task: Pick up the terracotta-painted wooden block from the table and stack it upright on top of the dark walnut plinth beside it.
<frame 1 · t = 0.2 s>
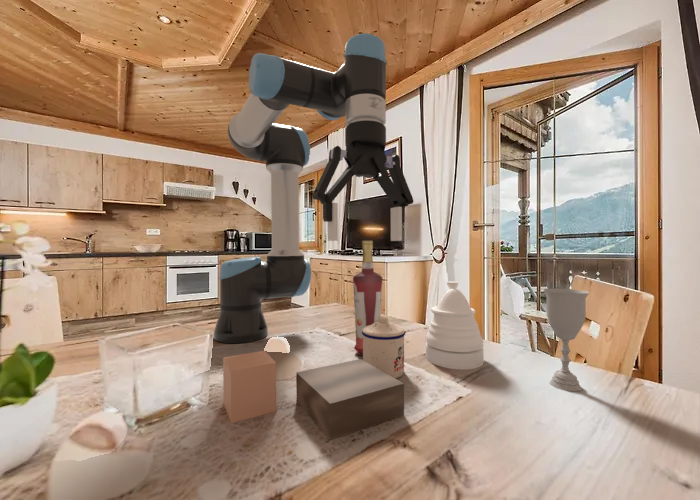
hand: (366, 241, 61), 28 cm above the table, fingers open, 13 cm apart
chalice: (565, 386, 62), on the table
teacup with lid: (384, 370, 71), on the table
liquor: (367, 353, 82), on the table
plinth: (347, 407, 54), on the table
terracotta block: (249, 407, 54), on the table
honey pot: (453, 360, 77), on the table
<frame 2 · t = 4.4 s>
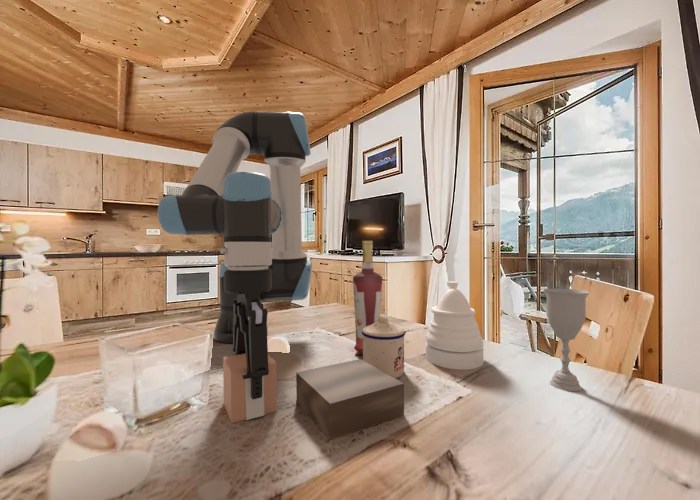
hand: (249, 405, 54), 0 cm above the table, fingers closed on terracotta block, 7 cm apart
terracotta block: (249, 407, 54), on the table, touching gripper
everything else where it was.
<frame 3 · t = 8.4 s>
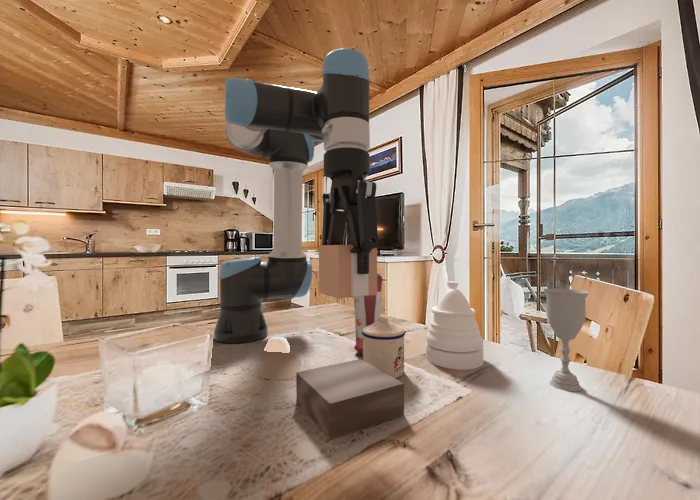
hand: (347, 292, 54), 19 cm above the table, fingers closed on terracotta block, 7 cm apart
terracotta block: (347, 293, 54), point 19 cm above the table, touching gripper
everything else where it was.
when the fingers open (6 cm above the table, at t = 11.5 s): terracotta block stays where it is, resting on plinth.
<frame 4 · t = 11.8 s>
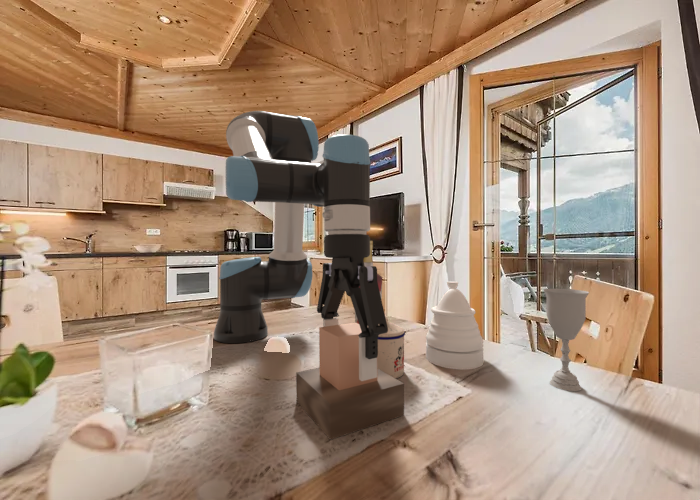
hand: (347, 365, 54), 7 cm above the table, fingers open, 11 cm apart
terracotta block: (347, 377, 54), point 5 cm above the table, touching plinth
everything else where it was.
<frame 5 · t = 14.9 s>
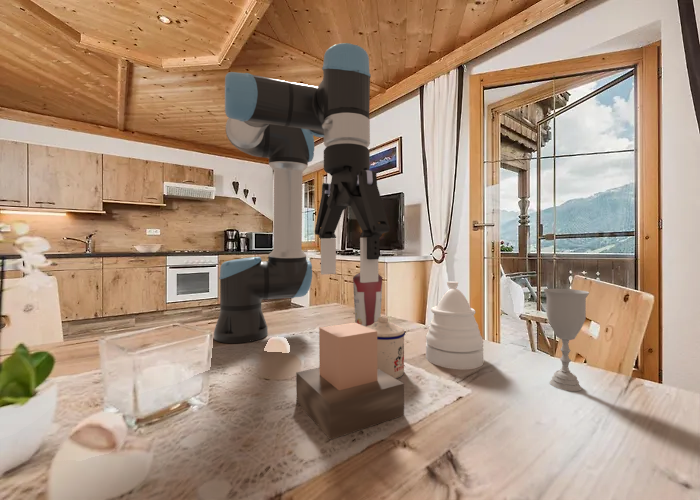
hand: (346, 277, 54), 21 cm above the table, fingers open, 13 cm apart
nothing on the table moved.
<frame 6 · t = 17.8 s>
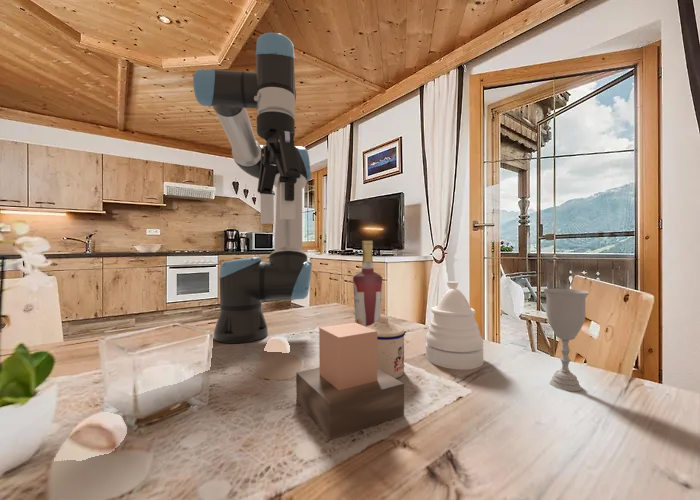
hand: (276, 221, 67), 32 cm above the table, fingers open, 13 cm apart
nothing on the table moved.
at the end: terracotta block inside the target area on the plinth (0.0 cm from its centre), point 5.0 cm above the plinth's base; terracotta block tilted 0°; the gripper is holding nothing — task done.
